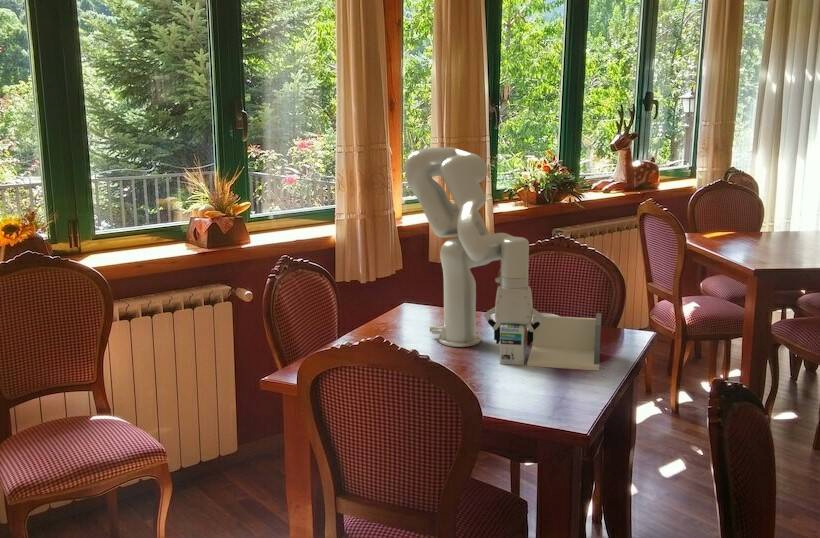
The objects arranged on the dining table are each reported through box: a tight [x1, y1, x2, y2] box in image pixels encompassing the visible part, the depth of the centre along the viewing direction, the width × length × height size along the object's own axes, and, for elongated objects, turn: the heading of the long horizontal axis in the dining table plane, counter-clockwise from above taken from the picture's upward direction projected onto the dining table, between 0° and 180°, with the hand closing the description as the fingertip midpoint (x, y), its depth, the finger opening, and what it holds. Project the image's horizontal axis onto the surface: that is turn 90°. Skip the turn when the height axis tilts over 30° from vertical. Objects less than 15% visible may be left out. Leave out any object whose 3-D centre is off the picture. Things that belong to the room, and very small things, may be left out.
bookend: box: [594, 312, 602, 366], centre depth 219 cm, size 1×12×11 cm, turn 167°
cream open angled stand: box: [527, 315, 600, 371], centre depth 221 cm, size 19×15×10 cm
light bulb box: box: [499, 323, 527, 366], centre depth 222 cm, size 11×7×11 cm, turn 168°
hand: (513, 343), depth 222 cm, fingers open, 8 cm apart
